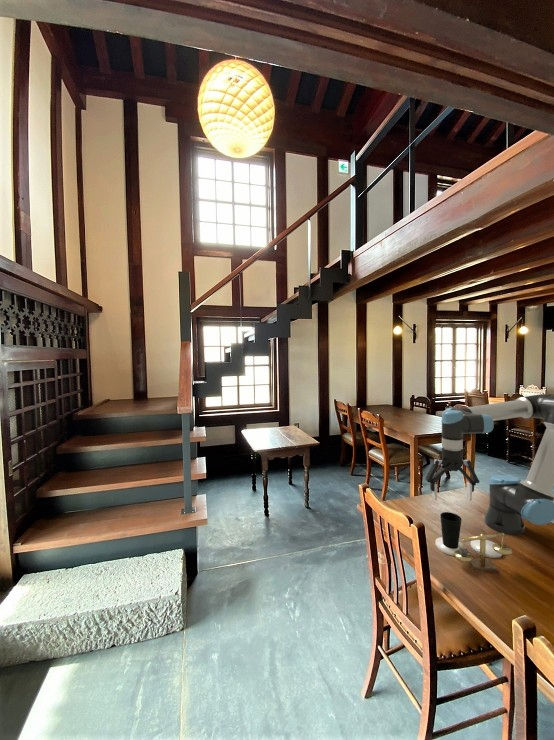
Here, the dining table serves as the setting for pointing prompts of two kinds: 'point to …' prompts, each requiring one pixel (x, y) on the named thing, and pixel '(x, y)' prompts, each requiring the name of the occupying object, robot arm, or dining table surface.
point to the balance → (482, 553)
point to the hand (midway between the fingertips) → (451, 498)
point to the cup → (450, 529)
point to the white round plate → (489, 549)
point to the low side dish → (445, 549)
